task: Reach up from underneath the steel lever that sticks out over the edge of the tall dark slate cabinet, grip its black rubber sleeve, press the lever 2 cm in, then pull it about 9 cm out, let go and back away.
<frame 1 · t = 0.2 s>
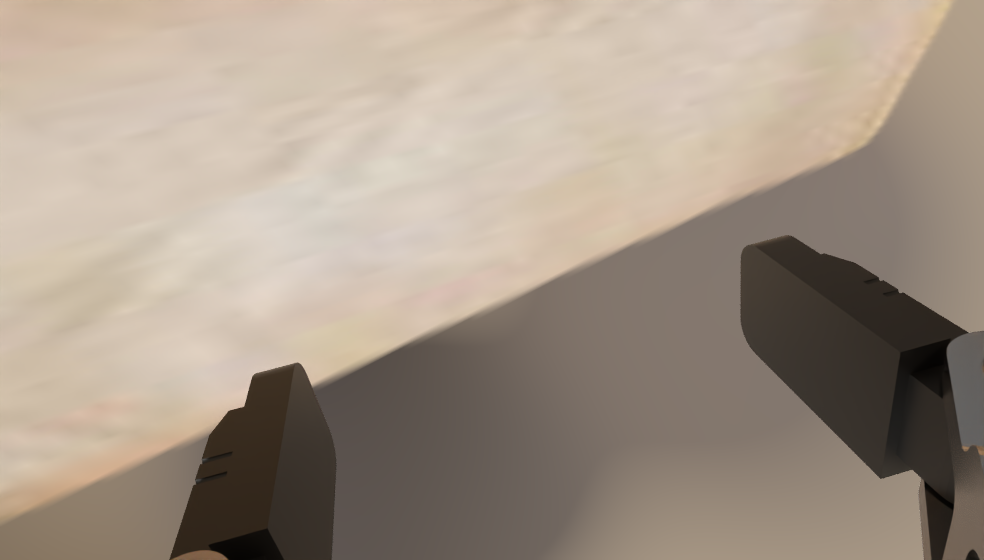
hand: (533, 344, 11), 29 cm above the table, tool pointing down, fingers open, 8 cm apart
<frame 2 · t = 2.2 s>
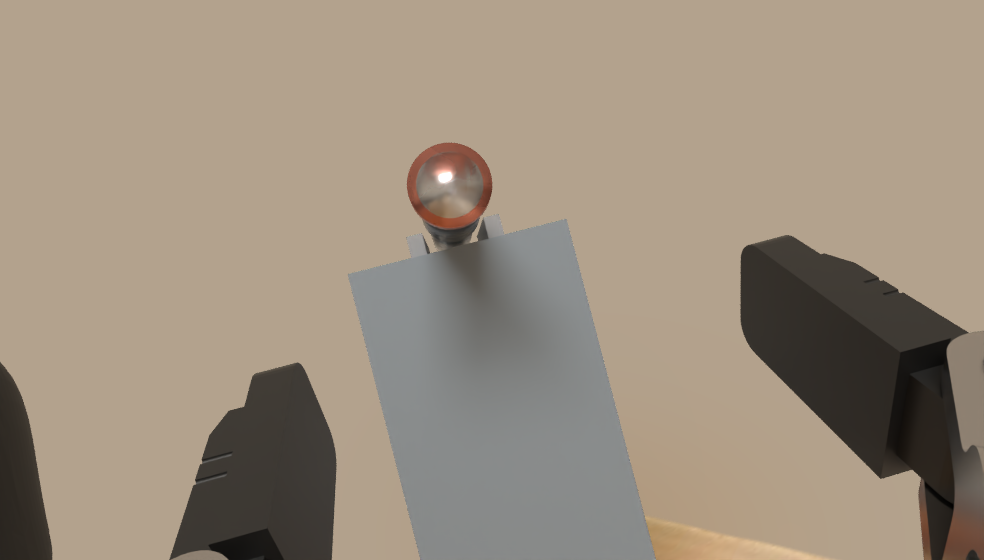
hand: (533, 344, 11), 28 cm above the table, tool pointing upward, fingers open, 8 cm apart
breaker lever: (451, 221, 40), point 34 cm above the table, slide at 0.0 cm
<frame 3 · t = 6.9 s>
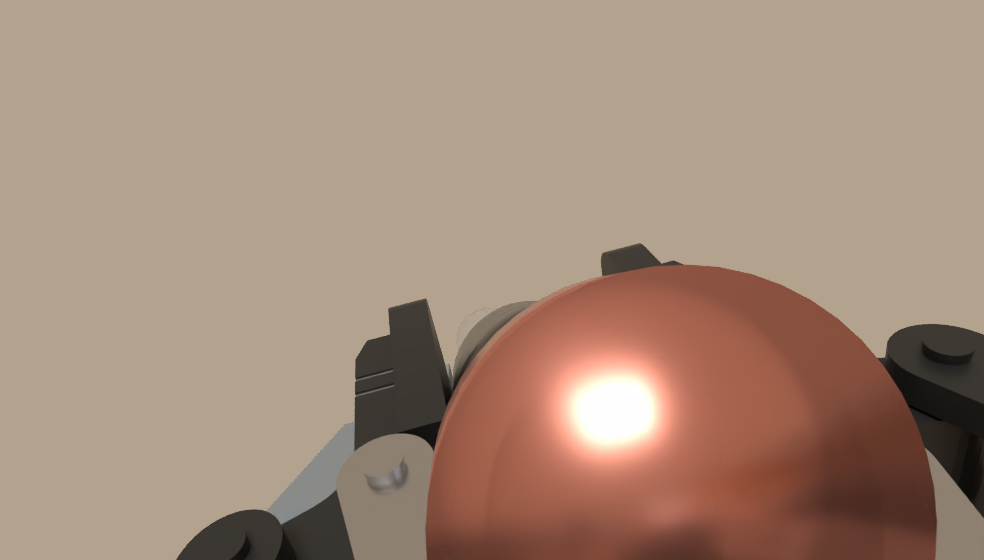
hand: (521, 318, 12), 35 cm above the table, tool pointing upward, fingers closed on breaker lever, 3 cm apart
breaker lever: (515, 364, 17), point 34 cm above the table, slide at 0.0 cm, touching gripper
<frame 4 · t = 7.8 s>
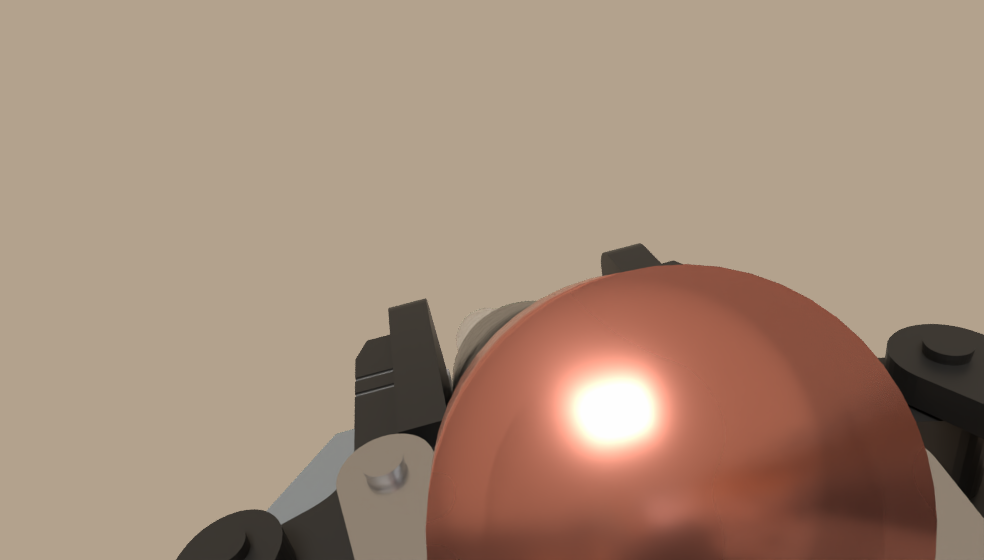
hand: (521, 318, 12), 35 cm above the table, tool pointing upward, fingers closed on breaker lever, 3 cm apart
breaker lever: (514, 364, 17), point 34 cm above the table, slide at -1.9 cm, touching gripper
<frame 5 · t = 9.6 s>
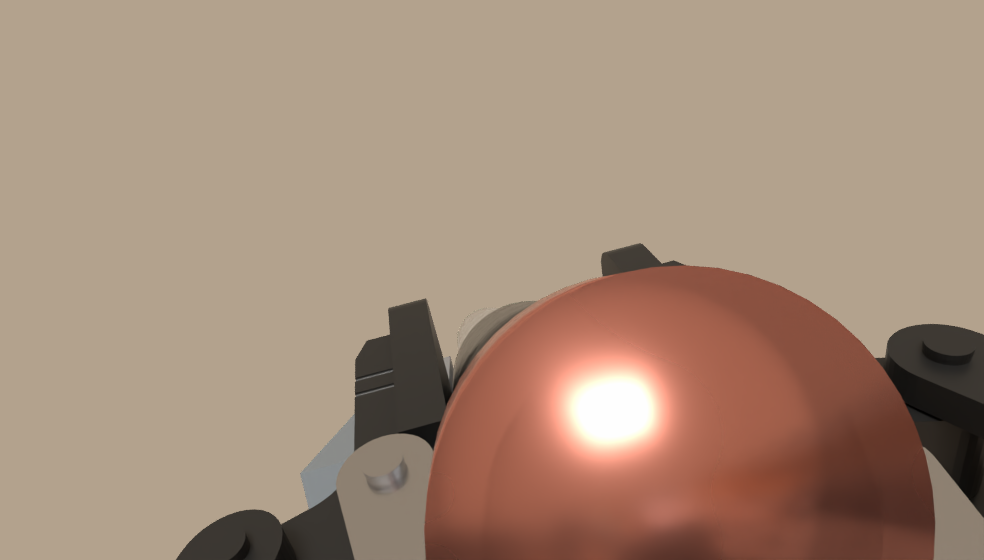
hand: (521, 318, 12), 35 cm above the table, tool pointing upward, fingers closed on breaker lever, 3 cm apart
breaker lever: (515, 364, 17), point 34 cm above the table, slide at 4.1 cm, touching gripper
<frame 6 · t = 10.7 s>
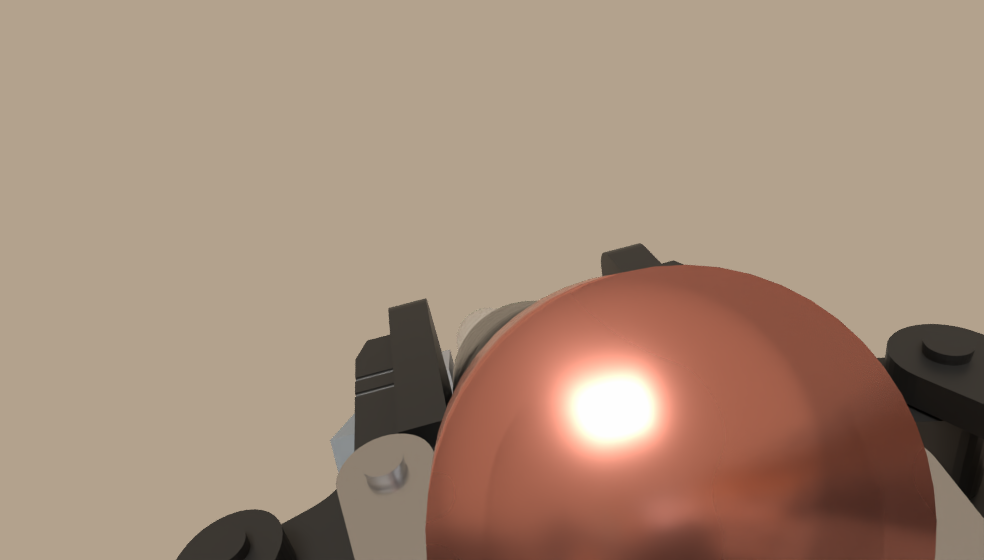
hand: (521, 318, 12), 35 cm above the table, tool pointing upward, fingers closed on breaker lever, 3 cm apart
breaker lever: (515, 364, 17), point 34 cm above the table, slide at 8.8 cm, touching gripper
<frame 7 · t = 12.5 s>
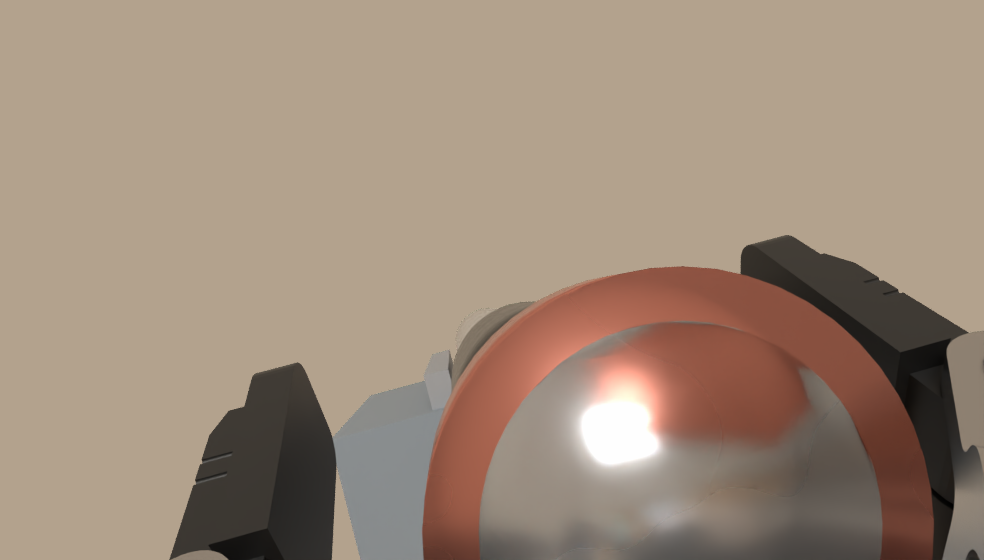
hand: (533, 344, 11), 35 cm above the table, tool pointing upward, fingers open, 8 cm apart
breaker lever: (514, 365, 17), point 34 cm above the table, slide at 9.0 cm
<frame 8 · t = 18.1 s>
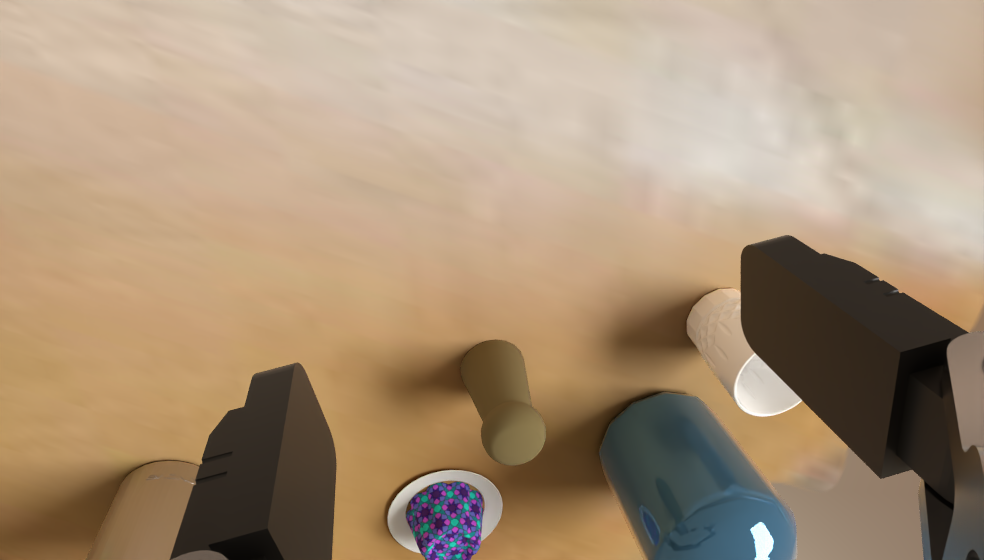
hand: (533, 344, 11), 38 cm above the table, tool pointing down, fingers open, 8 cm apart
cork: (492, 366, 58), on the table
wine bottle: (652, 437, 66), on the table
white cup: (717, 317, 61), on the table
pudding: (444, 507, 66), on the table
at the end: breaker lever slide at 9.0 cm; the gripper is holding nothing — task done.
